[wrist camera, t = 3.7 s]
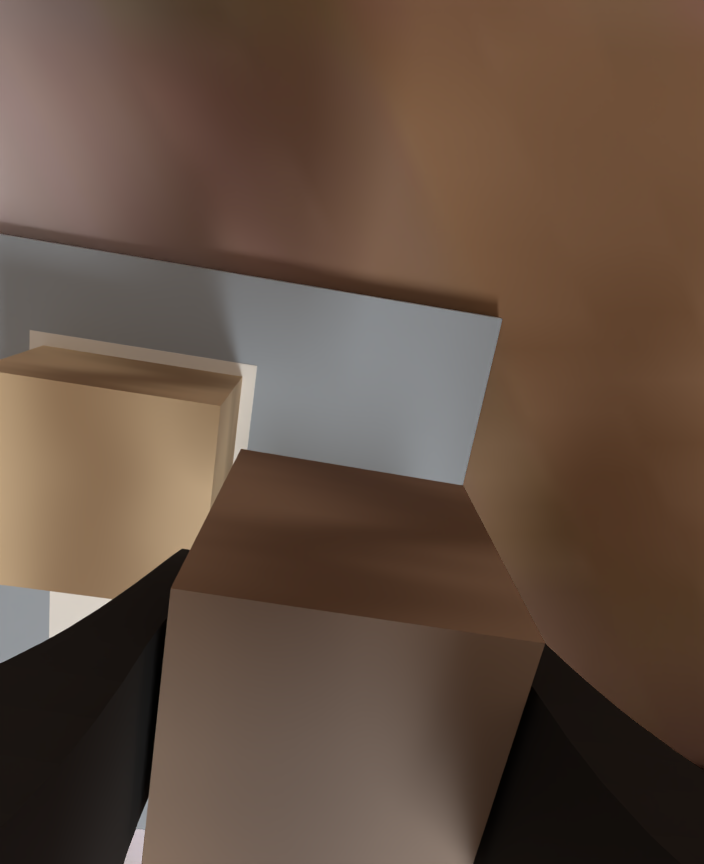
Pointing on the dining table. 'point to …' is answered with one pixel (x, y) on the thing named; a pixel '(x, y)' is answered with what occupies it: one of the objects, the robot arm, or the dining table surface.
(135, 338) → the blueprint board
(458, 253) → the dining table surface
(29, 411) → the oak base block
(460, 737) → the walnut block
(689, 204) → the dining table surface
